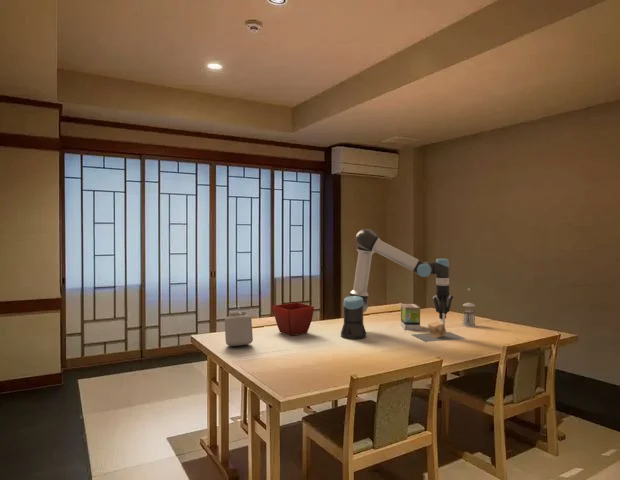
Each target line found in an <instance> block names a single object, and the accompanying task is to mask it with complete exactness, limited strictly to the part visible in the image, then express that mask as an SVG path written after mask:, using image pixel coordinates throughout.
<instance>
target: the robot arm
mask: <svg viewBox="0 0 620 480" xmlns="http://www.w3.org/2000/svg"><path fill="white" fill-rule="evenodd" d="M355 243H356V251H357V253H358V254H357V259H356V267H355V274H354V281H353V289H352V290H351V291H350V292H349V295H348V296H346V297H345V298H344V299H343V324H342V328H341V331H340V337H341V338H343V339H348V340H361V339H365V338H367V331H366V329H365V325H364V313H365V312H367V310H368V309H369V293H368V285H369V278H370V272H371V267H372V265H371V264H372V259H373V258H372V257H373V254H375V253H377V254H379V255H380V256H383V257H385V258H386V259H388V260H390V261H392V262H394V263H396V264H398V265H400V266H402V267H404V268H406V269H408V270H409V271H411V272H414V273H415V274H417V275H418V276H420V277H421V278H426V277H429V276H430V275H433V276H435V291H436V293H435V295H434V296H431V298H432V300H433V303H434V308H435V311H436V312H435V313H438V317H439V319H440V321H439V322H441V323H444V324H445V325H446V319H447V314H448V313H450V309H451V305H452V301H453V298H454V296H453V295H451V294H450V260H449V259H448V258H436V260H435V261H422V260H420V259H418V258H416V257H414V256H412V255H411V254H408V253H406V252H404V251H402V250H400V249H399V248H396V247H395V246H393V245H390V244H389V243H386V242H385V241H383V240H381V239H380V237H379V236H378V233H377V232H376V231H374V230H373V229H369V228H363V229H360V230H359V231H358V232H357V233H356V235H355Z"/></svg>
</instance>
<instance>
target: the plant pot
mask: <svg viewBox="0 0 620 480" xmlns="http://www.w3.org/2000/svg"><path fill="white" fill-rule="evenodd" d="M314 310H315V306H313V305H308V304H305V303H301V302H292V303H285V304H284V303H282V304H276V305H272V311H273V316H274V319H275V322H276V325H277V328H278V331H279V333H280V332H281V334H283V333H284V334H283V335H286V334H287V336H289V335H290V337H293V335H294V336H298V335H305V334H308V331H309V329H310V327H311V323H312V319H313V315H314Z"/></svg>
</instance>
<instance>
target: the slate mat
mask: <svg viewBox="0 0 620 480" xmlns="http://www.w3.org/2000/svg"><path fill="white" fill-rule="evenodd" d="M446 334H447V335H445V336H442V337H439V338H435V337H432V336H430V332H429V333H413V334H411V336H413V337H414V338H416V339H419V340H420V341H423V342H425V343H427V342H442V341H454V340H467V338H466V337H463V336H461V335H458V334H455V333H453V332H451V331H446Z"/></svg>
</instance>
